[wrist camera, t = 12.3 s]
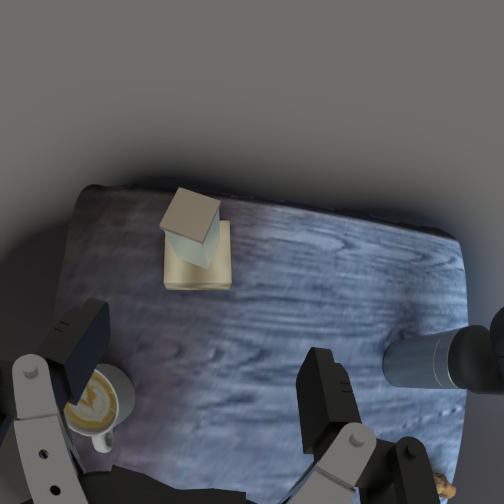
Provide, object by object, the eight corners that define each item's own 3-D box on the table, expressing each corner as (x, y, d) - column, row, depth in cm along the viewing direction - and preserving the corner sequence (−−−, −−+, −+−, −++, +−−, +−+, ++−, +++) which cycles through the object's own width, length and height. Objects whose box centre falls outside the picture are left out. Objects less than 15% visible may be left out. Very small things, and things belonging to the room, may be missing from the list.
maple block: (226, 233, 53) (229, 220, 48) (228, 289, 49) (231, 282, 45) (169, 233, 51) (166, 220, 46) (167, 290, 48) (163, 282, 43)
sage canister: (222, 239, 46) (220, 201, 35) (208, 271, 44) (202, 241, 33) (189, 227, 46) (179, 187, 35) (175, 258, 45) (159, 225, 33)
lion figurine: (402, 487, 40) (429, 499, 32) (416, 465, 42) (444, 474, 34) (439, 496, 39) (464, 506, 31) (451, 477, 41) (477, 484, 33)
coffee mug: (80, 358, 41) (53, 357, 32) (136, 368, 42) (120, 371, 33) (79, 434, 37) (54, 448, 27) (135, 446, 38) (119, 466, 29)
